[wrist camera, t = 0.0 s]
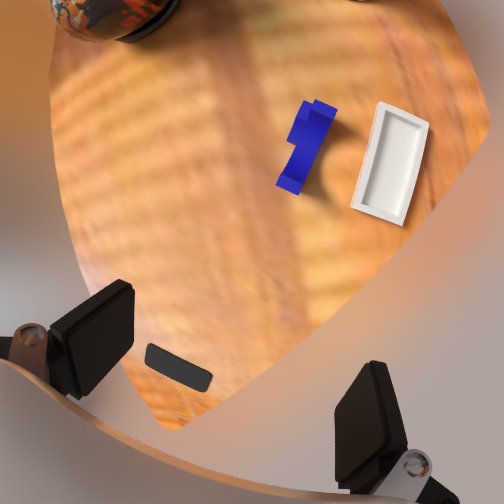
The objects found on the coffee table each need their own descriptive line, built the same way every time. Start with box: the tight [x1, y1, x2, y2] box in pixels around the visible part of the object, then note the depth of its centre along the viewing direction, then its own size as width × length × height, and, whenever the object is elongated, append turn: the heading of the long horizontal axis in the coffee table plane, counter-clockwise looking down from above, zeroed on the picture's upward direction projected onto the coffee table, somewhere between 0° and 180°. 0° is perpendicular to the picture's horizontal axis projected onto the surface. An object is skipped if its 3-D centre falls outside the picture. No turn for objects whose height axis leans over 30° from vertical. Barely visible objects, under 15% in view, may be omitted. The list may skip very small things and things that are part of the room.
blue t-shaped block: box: [276, 99, 338, 195], centre depth 33 cm, size 12×4×6 cm, turn 156°
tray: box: [350, 101, 429, 226], centre depth 33 cm, size 16×8×2 cm, turn 166°
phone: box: [145, 343, 212, 392], centre depth 52 cm, size 7×1×15 cm
